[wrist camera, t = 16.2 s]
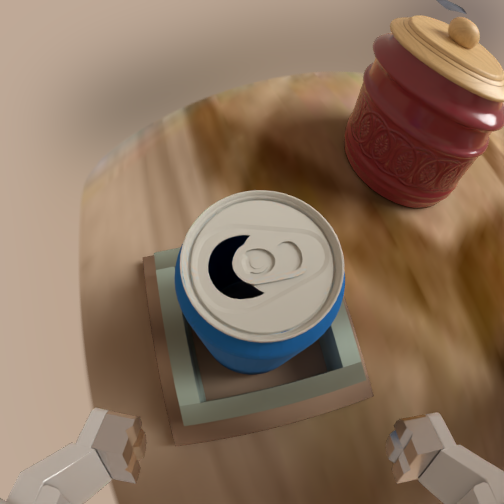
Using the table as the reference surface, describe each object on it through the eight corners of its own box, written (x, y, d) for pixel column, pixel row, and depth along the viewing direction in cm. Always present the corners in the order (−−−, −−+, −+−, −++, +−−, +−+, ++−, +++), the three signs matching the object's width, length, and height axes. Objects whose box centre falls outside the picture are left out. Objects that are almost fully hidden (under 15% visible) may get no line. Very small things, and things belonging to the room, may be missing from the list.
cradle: (145, 262, 24) (129, 236, 20) (316, 229, 26) (329, 198, 22) (178, 444, 19) (163, 455, 15) (368, 396, 21) (395, 395, 17)
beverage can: (196, 293, 23) (159, 197, 12) (284, 276, 23) (322, 170, 13) (214, 383, 20) (183, 373, 9) (308, 362, 21) (380, 327, 10)
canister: (467, 201, 29) (559, 87, 13) (375, 222, 27) (476, 57, 11) (412, 116, 34) (464, 1, 18) (321, 121, 32) (358, -29, 16)
